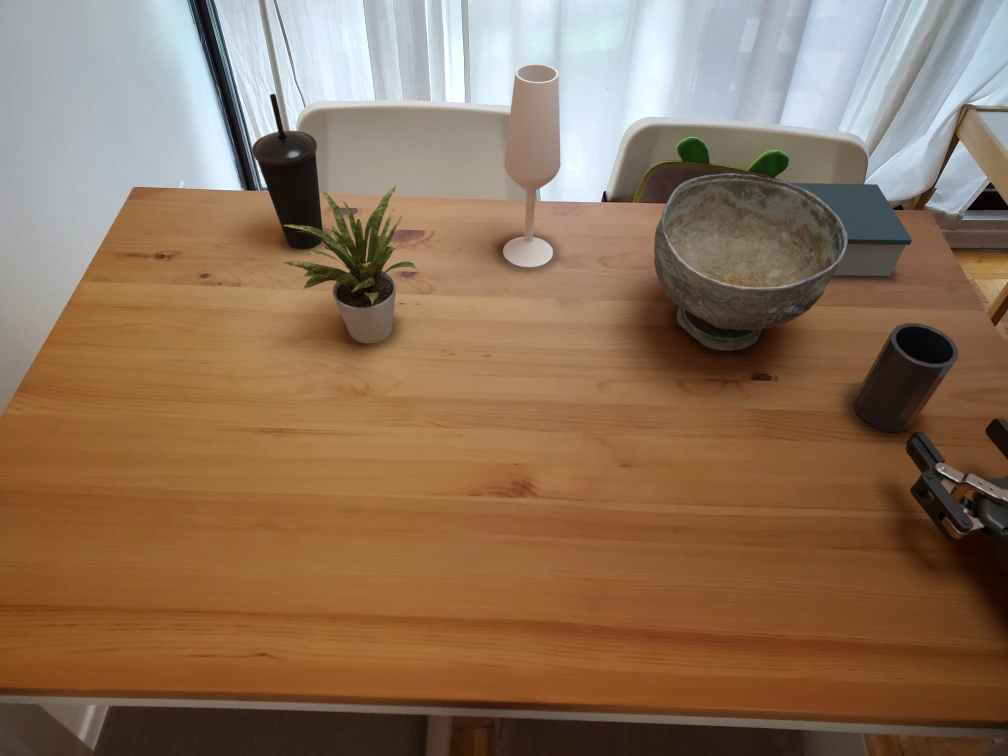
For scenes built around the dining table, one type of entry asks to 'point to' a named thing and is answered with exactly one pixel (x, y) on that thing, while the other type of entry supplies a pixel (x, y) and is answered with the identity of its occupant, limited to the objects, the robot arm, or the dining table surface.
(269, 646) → the dining table surface
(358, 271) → the house plant
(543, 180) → the champagne flute
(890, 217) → the container
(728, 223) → the bowl
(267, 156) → the drinking cup
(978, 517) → the robot arm
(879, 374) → the cup
